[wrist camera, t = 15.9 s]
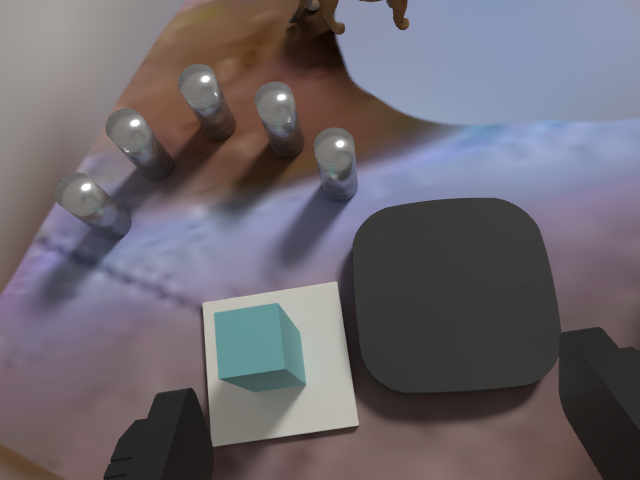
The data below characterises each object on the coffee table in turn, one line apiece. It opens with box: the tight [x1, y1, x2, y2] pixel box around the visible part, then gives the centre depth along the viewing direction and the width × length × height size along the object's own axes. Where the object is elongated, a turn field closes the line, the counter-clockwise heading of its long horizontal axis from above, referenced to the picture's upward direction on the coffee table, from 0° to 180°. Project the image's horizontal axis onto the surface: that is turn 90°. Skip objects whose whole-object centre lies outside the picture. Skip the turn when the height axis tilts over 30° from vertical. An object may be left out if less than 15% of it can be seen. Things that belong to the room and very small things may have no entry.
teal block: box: [214, 303, 307, 392], centre depth 38 cm, size 4×4×10 cm
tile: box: [203, 282, 359, 447], centre depth 43 cm, size 11×11×1 cm
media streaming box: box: [353, 198, 561, 395], centre depth 42 cm, size 15×15×3 cm
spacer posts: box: [55, 64, 358, 240], centre depth 46 cm, size 23×11×7 cm, turn 98°
